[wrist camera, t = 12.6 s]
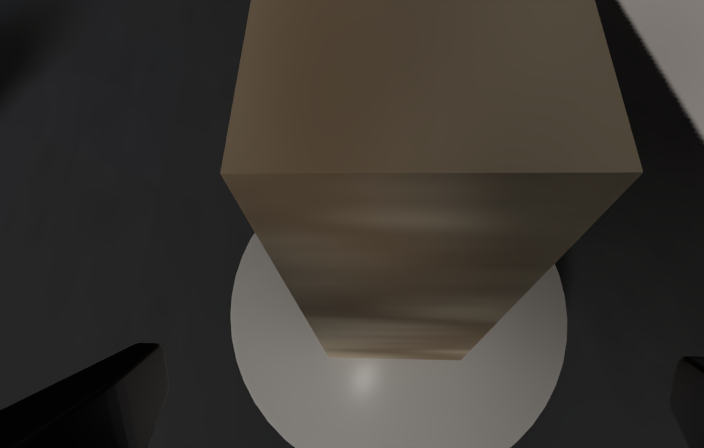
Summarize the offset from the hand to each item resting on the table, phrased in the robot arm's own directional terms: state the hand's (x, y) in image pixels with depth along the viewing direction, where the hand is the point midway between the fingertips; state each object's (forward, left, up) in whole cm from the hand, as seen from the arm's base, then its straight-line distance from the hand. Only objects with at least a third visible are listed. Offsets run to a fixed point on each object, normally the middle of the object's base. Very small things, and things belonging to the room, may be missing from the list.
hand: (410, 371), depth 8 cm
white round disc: (+3, -3, -10) cm, 11 cm away
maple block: (+3, -3, -8) cm, 9 cm away
